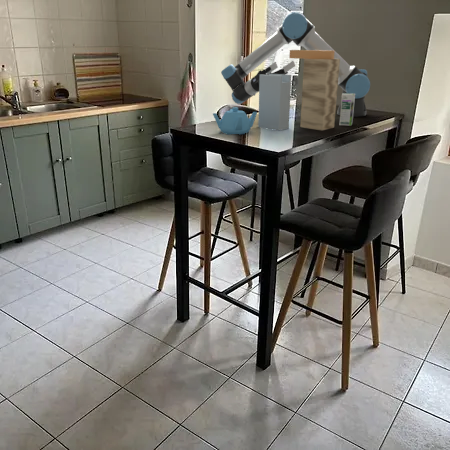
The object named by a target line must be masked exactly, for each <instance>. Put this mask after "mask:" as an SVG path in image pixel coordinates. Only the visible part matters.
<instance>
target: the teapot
mask: <svg viewBox="0 0 450 450" xmlns="http://www.w3.org/2000/svg"><path fill="white" fill-rule="evenodd" d="M217 114H218V113H215V112H214V113H212V116H213V118H214V120H215V123H216V125H217V127H218V128H219V130H220V132H221V133H222V132H223V133H222V134H224V133H227V134H226V135H231V134H239V135H246V134H248V133H249V132H250V131H251V129H252V128H253V126H254V123H255V119H256V117H257V114H258V112H257V111H253V112H252V114H251V115H250V116H249V117H248V115H247V113H246V112H245V111H243V110H239V107H236V106H235V107H232V108H230V109H229V110H227V111H225V112H224V114H222V115H223V116H222V117H221V119H220V118H219V116H218V115H217ZM245 133H246V134H245Z"/></svg>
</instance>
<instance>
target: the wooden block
mask: <svg viewBox="0 0 450 450" xmlns="http://www.w3.org/2000/svg"><path fill="white" fill-rule="evenodd" d="M339 65H340V59H303V73H302V92H301V109H300V110H301V111H300V128H303V129H310V130H317V131H326V130H329V129H333V128H334V129H335V123H336V122H335V121H336V112H337V111H336V110H337V98H338V96H337V95H338V88H339V87H338V86H339V85H338V77H339Z"/></svg>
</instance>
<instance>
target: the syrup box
mask: <svg viewBox="0 0 450 450" xmlns="http://www.w3.org/2000/svg"><path fill="white" fill-rule="evenodd" d="M354 102H355V94H353V93H343V94H342V93H341V100H340V103H341V112H340V115H339V123H338V125H339V126H349V127H351V126H352V125H353V119H354V117H353V112H354Z"/></svg>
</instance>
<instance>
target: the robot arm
mask: <svg viewBox="0 0 450 450" xmlns="http://www.w3.org/2000/svg"><path fill="white" fill-rule="evenodd" d="M315 28H316V27H315V25H314V24H312V22H310V21H309V19H307V18H306V16H305V14H303V13H302V12H299V11H292V12H290V13H288V14H286V16H285V17H284V19H283V21H282V24H281V25H280V26H278V27H277V29H276V31H275V33H273V34H272V35H271V36H270V37H269V38H268V39H266V40H265V41H264V42H263V43H262V44H260V45H259V46H258V47H257V48H255V50H253V51H252V52H251V53H250V54H248V55H247V56H246V57H245V58H243V60H241V61H240V62H239V63H238V64H236V65H235V66H234V64H232V63H231V64H229V65H228V66H226V67H225V68H224V69H223V70H221V76H222V77H223V79H224V81H226V83H227V84H228V86H229V88H230V89H231V90H232V93H231V98H232V101H233V102H234V103H235V104H238V105H241V104H243V103H245V102H246V101H248V100H249V99H251V98H253V96H256V95H257V94H258V93H259V78H260V74H262V75H269V74H284V75H288V73H289V71H290V70H292V69H293V68H295V67H296V64H295V61H294V60H292V61H290V62H289V63H286V65H285V66H284V65H283V66H282V68H281V69H278V68H279V67H278V64H277V62H276V61H274V62H272V63H271V64H270V65H268V66H267V67H266V68H264V69H262V70H261V69H260V70H259V71H258V72H257V73H256V75H254V76H253V77H251V78H250V79H249V80H248V81H246V82H245V81H244V80H243V79H244V78H246V77H247V76H248V75H250V73H251V72H253V71H255V69H257V67H259V66H260V65H261V64H263V63H264V62H265V61H266V60H268V59H269V58H270V57H271V56H273V55H274V54H275V53H276V52H277V51H279V50H280V49H281V48H282V47H284V46H285V45H290V44H291V42H293V43H294V44H295V45H296V46H297V47H302V48H304V50H334V48H333V47H331V45H330V44H328V43H327V42H326V41H325V40H324V38H322V37H321V36H320V34H318V33H317V32H316V31H315V30H316V29H315ZM334 59H340V65H339V77H338V86H339V87H340V88H341V89H342V93H341V95H342V94H343V93H353V94H355V102H354V112H353V118H354V117H356V118H357V117H365V116H366V115H367V107H366V103H365V96H366V95H367V94H368V93H369V91H370V89H371V80H370V79H369V77H368V70H366V69H364V68H363V69H362V68H361V69H359V68H358V67H357V66H356V65H350V64H349V63H348V62H347V61H346V60H345V59H344V58H343V57H342V56H341V55H340V54H339V53H338V52H337V51H335V52H334ZM276 69H278V70H276ZM274 70H275V71H274ZM336 110H337V111H336V112H337V113H336V114H337V115H338V116H340V112H341V102H340V103H339V106H338V108H337V109H336Z"/></svg>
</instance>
